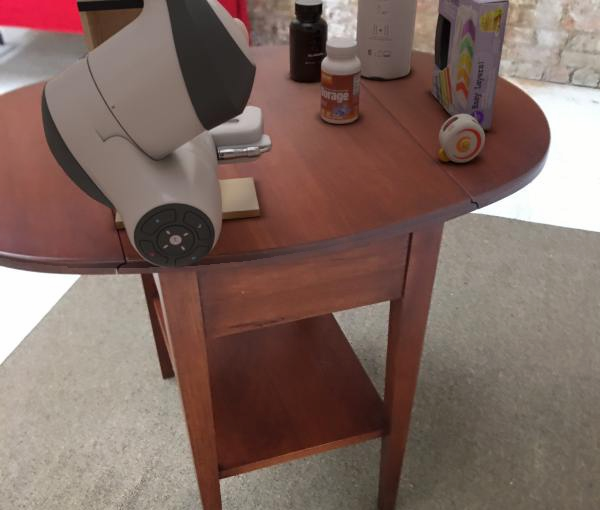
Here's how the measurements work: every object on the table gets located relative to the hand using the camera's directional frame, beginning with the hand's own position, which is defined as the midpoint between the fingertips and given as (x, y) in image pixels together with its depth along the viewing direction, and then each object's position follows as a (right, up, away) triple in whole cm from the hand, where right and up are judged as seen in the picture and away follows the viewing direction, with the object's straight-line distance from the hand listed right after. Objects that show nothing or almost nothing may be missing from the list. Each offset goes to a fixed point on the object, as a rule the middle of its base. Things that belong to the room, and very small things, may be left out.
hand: (174, 110), depth 75 cm
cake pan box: (+41, +13, +29) cm, 52 cm away
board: (0, -9, +8) cm, 12 cm away
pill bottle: (+21, +11, +28) cm, 37 cm away
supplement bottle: (+17, +25, +41) cm, 51 cm away
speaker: (+30, +27, +43) cm, 59 cm away
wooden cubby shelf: (-9, +17, +33) cm, 38 cm away
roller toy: (+38, 0, +16) cm, 41 cm away
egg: (+3, +34, +50) cm, 60 cm away
